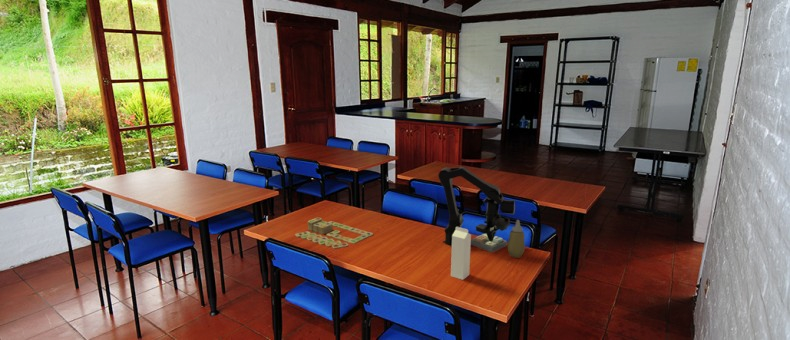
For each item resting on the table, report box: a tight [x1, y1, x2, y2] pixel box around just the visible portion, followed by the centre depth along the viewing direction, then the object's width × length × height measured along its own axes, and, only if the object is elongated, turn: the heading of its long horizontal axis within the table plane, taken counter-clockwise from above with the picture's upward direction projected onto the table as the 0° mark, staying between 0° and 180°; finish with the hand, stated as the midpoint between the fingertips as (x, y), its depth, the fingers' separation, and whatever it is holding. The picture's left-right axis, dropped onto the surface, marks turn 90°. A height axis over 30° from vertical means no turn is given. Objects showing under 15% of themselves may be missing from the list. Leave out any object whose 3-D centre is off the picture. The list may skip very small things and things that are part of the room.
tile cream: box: [485, 241, 496, 246], centre depth 211 cm, size 4×4×2 cm
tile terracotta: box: [474, 234, 487, 243], centre depth 215 cm, size 4×4×2 cm
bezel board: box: [471, 234, 508, 254], centre depth 215 cm, size 12×13×3 cm
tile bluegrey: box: [492, 235, 504, 244], centre depth 214 cm, size 4×4×2 cm
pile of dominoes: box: [294, 217, 374, 250], centre depth 228 cm, size 35×27×6 cm
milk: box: [450, 227, 472, 281], centre depth 181 cm, size 6×6×22 cm
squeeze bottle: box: [506, 219, 526, 259], centre depth 202 cm, size 8×8×18 cm
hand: (490, 241), depth 211 cm, fingers closed
